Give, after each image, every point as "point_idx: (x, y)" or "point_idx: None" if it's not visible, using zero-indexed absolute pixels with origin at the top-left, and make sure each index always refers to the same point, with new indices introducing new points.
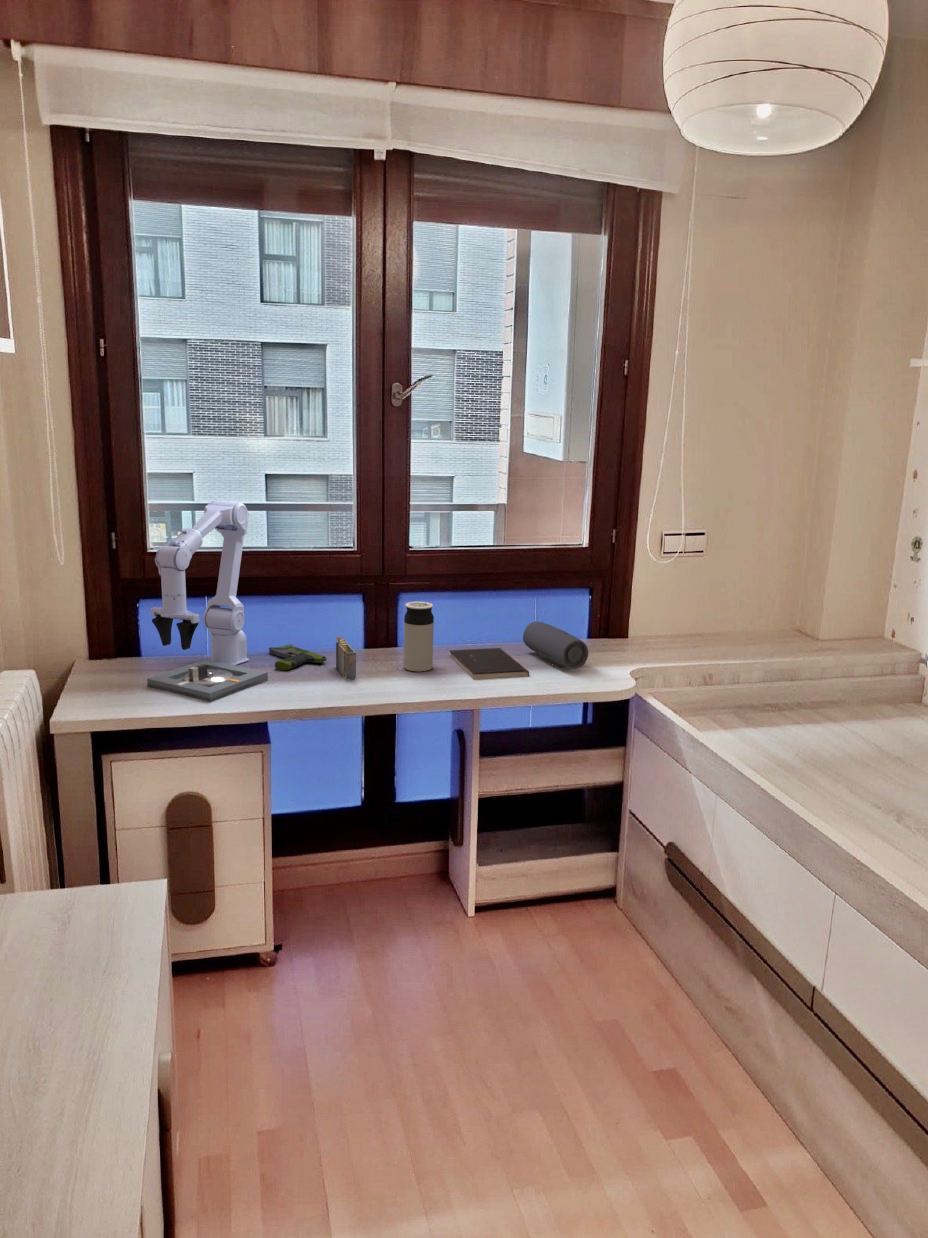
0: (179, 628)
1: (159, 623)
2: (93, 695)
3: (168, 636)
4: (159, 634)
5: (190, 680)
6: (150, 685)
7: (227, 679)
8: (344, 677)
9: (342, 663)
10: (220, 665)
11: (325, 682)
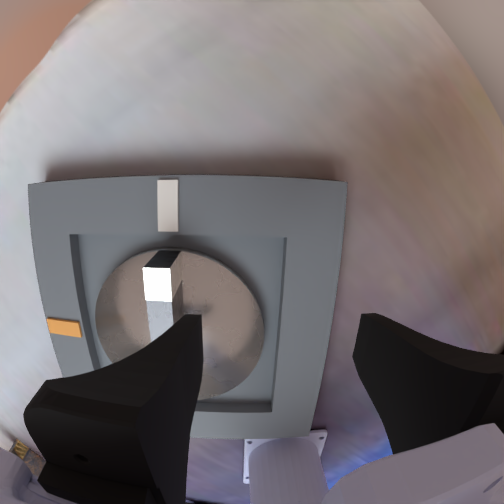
0: (128, 388)
1: (465, 380)
2: (405, 41)
3: (375, 377)
4: (423, 335)
5: (172, 251)
6: (322, 179)
7: (99, 336)
8: (27, 447)
9: (33, 472)
10: (227, 422)
11: (18, 421)
